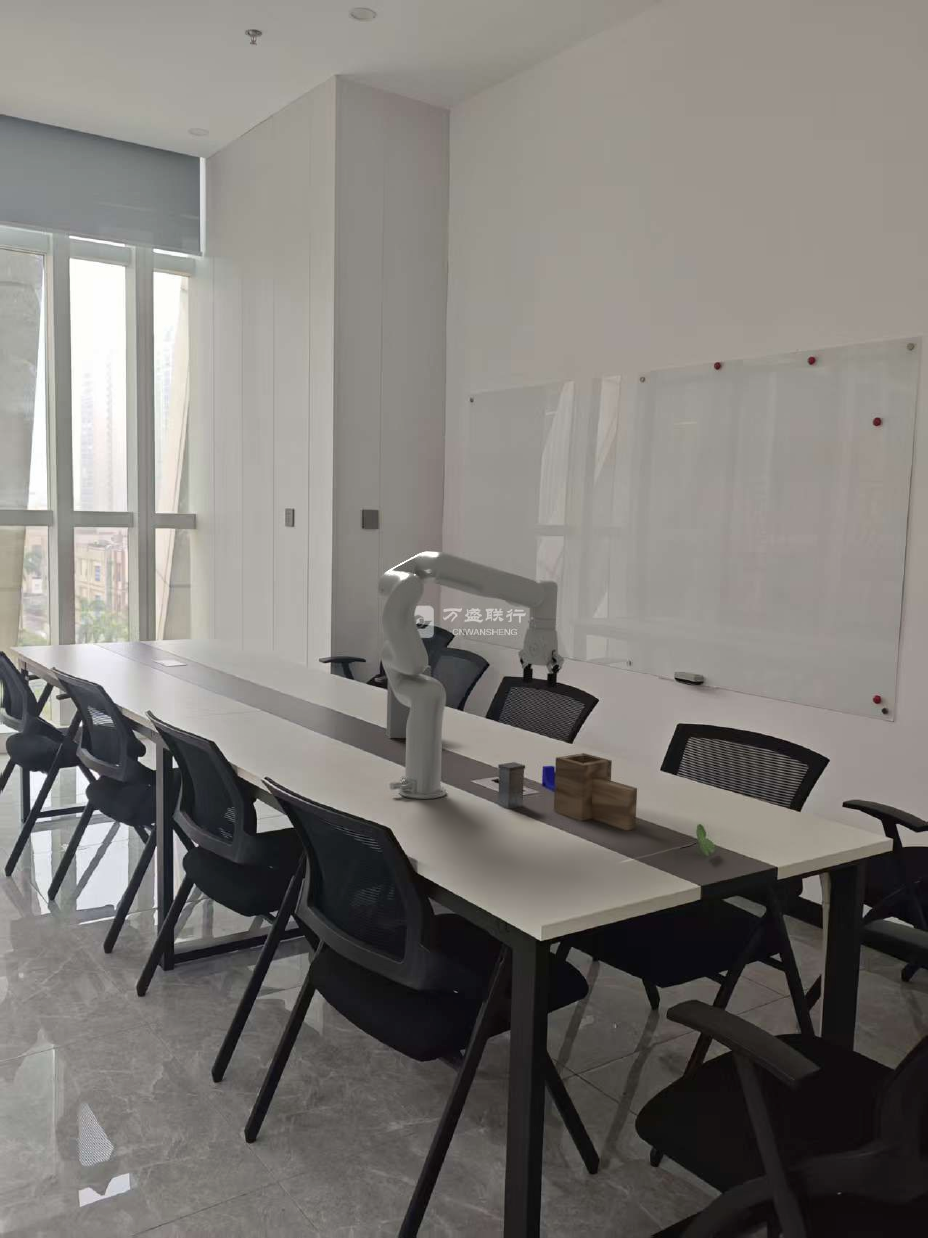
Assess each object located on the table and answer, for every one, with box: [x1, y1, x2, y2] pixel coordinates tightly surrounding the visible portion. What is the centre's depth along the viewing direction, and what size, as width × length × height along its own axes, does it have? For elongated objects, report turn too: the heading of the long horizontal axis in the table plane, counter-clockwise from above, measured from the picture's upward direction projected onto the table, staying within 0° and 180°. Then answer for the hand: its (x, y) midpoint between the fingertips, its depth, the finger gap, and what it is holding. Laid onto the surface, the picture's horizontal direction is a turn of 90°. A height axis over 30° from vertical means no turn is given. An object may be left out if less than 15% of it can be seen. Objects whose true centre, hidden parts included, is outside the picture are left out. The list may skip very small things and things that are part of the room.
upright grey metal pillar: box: [497, 761, 526, 809], centre depth 267 cm, size 5×4×11 cm
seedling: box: [679, 823, 716, 856], centre depth 233 cm, size 7×8×7 cm
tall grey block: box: [385, 665, 432, 739], centre depth 345 cm, size 14×6×25 cm, turn 108°
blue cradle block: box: [541, 765, 555, 793], centre depth 283 cm, size 12×4×6 cm, turn 24°
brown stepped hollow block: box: [553, 752, 638, 831], centre depth 257 cm, size 10×22×14 cm, turn 38°
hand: (539, 684), depth 290 cm, fingers open, 9 cm apart
